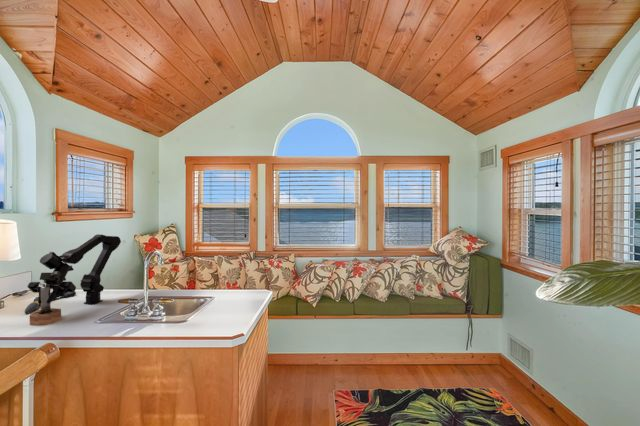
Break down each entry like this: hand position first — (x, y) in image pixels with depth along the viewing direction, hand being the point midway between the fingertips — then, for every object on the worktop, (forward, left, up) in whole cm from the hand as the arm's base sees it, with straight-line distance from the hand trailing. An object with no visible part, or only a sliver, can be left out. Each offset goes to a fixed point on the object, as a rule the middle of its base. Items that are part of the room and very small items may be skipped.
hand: (43, 303), depth 153 cm
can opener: (-31, -27, -9) cm, 42 cm away
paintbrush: (-15, -22, -9) cm, 28 cm away
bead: (-1, 0, -9) cm, 9 cm away
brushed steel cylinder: (-1, 0, -7) cm, 7 cm away
